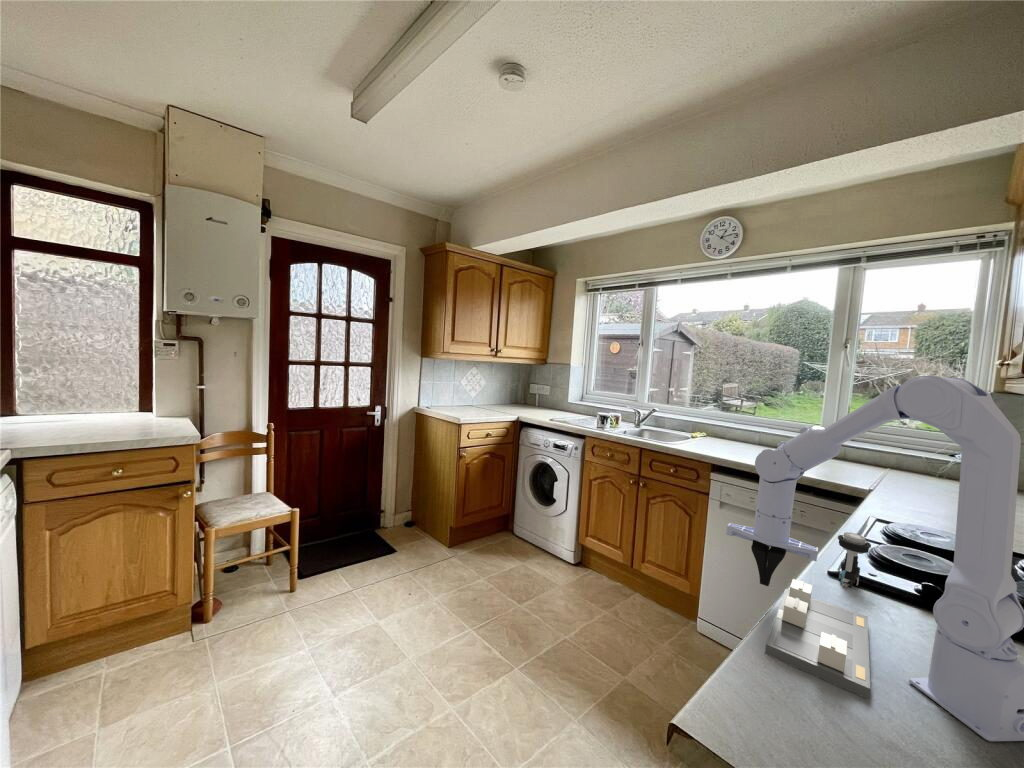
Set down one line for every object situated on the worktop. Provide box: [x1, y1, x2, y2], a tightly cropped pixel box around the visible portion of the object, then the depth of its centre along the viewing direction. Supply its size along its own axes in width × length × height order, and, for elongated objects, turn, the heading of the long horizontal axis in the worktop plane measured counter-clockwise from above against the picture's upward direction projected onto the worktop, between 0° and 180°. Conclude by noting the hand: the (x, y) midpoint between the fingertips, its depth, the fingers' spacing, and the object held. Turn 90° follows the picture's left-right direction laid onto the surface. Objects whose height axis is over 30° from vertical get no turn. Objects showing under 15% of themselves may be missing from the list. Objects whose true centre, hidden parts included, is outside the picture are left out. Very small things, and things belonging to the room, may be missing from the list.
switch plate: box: [764, 588, 871, 700], centre depth 68 cm, size 22×12×2 cm, turn 141°
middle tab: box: [782, 596, 808, 628], centre depth 70 cm, size 4×3×3 cm
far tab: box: [789, 578, 813, 608], centre depth 77 cm, size 4×3×3 cm
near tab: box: [817, 632, 847, 672], centre depth 61 cm, size 4×3×3 cm
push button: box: [837, 531, 872, 588], centre depth 87 cm, size 7×5×10 cm
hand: (764, 583), depth 80 cm, fingers closed
